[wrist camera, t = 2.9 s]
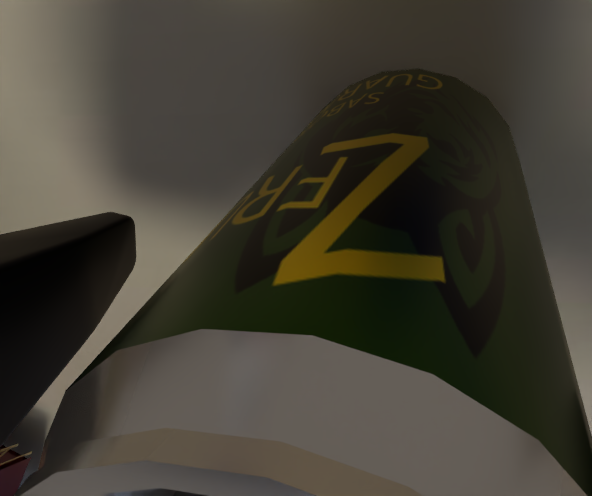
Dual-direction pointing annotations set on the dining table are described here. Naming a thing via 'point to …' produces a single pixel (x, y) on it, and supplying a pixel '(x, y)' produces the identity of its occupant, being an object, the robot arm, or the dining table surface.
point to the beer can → (346, 328)
